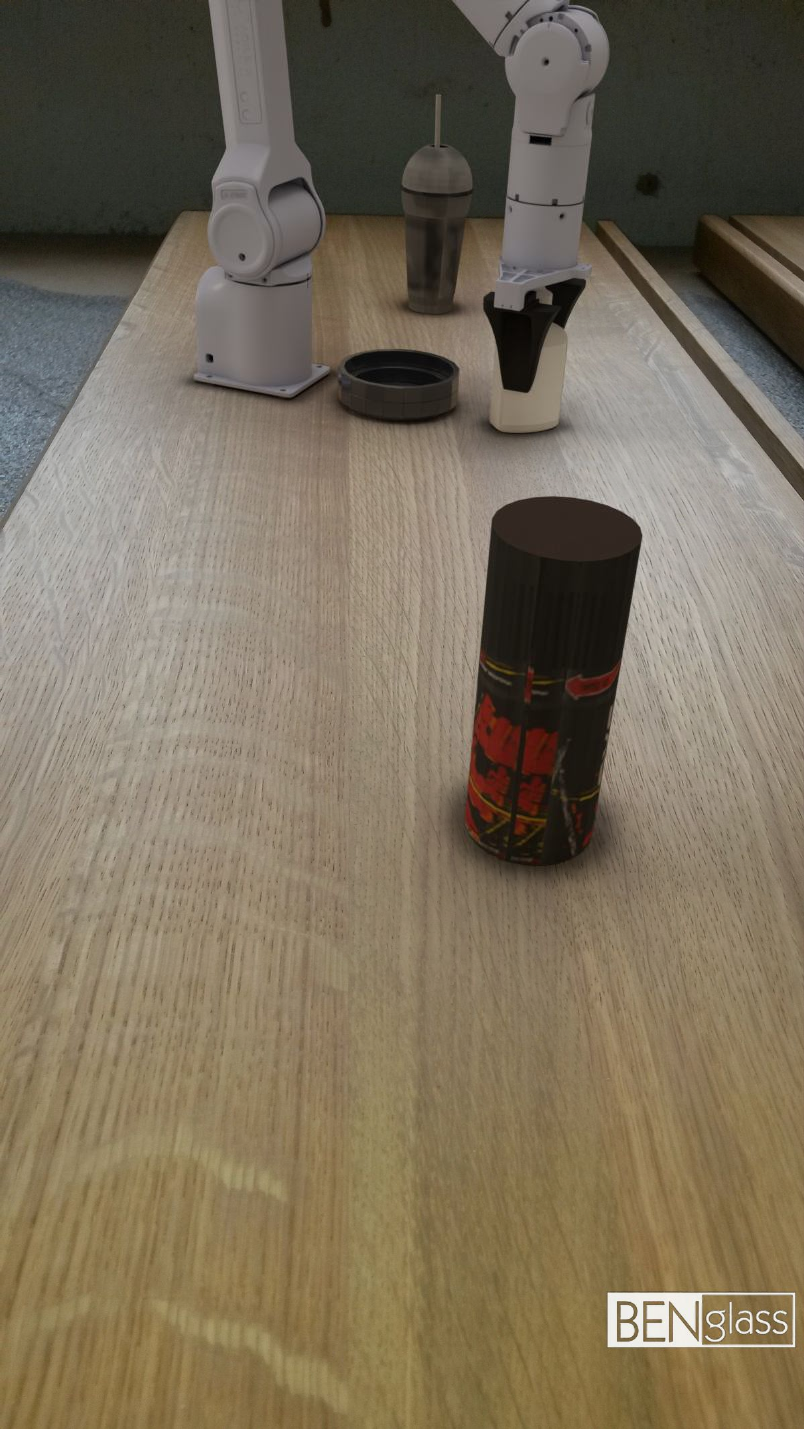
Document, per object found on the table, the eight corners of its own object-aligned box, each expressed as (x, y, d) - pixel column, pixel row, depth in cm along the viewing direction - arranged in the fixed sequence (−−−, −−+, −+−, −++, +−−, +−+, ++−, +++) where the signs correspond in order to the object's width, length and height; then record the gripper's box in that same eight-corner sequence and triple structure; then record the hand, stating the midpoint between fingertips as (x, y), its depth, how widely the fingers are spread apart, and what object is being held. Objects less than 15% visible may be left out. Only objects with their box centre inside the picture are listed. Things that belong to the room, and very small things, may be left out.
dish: (318, 410, 100) (318, 374, 98) (367, 375, 108) (368, 342, 106) (431, 432, 97) (433, 395, 95) (473, 394, 105) (476, 360, 103)
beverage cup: (473, 303, 128) (489, 92, 117) (453, 321, 123) (468, 101, 111) (408, 294, 130) (418, 85, 119) (385, 311, 124) (393, 94, 113)
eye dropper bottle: (556, 438, 97) (574, 284, 90) (486, 431, 98) (499, 278, 91) (559, 419, 101) (576, 269, 94) (491, 413, 101) (504, 263, 95)
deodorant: (457, 785, 59) (481, 495, 50) (578, 783, 59) (622, 496, 51) (473, 867, 54) (503, 561, 45) (605, 863, 54) (659, 561, 46)
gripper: (570, 223, 83) (549, 416, 90) (622, 187, 94) (599, 362, 101) (473, 210, 85) (459, 400, 92) (534, 177, 96) (518, 349, 104)
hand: (527, 379), depth 97 cm, fingers closed on eye dropper bottle, 5 cm apart
